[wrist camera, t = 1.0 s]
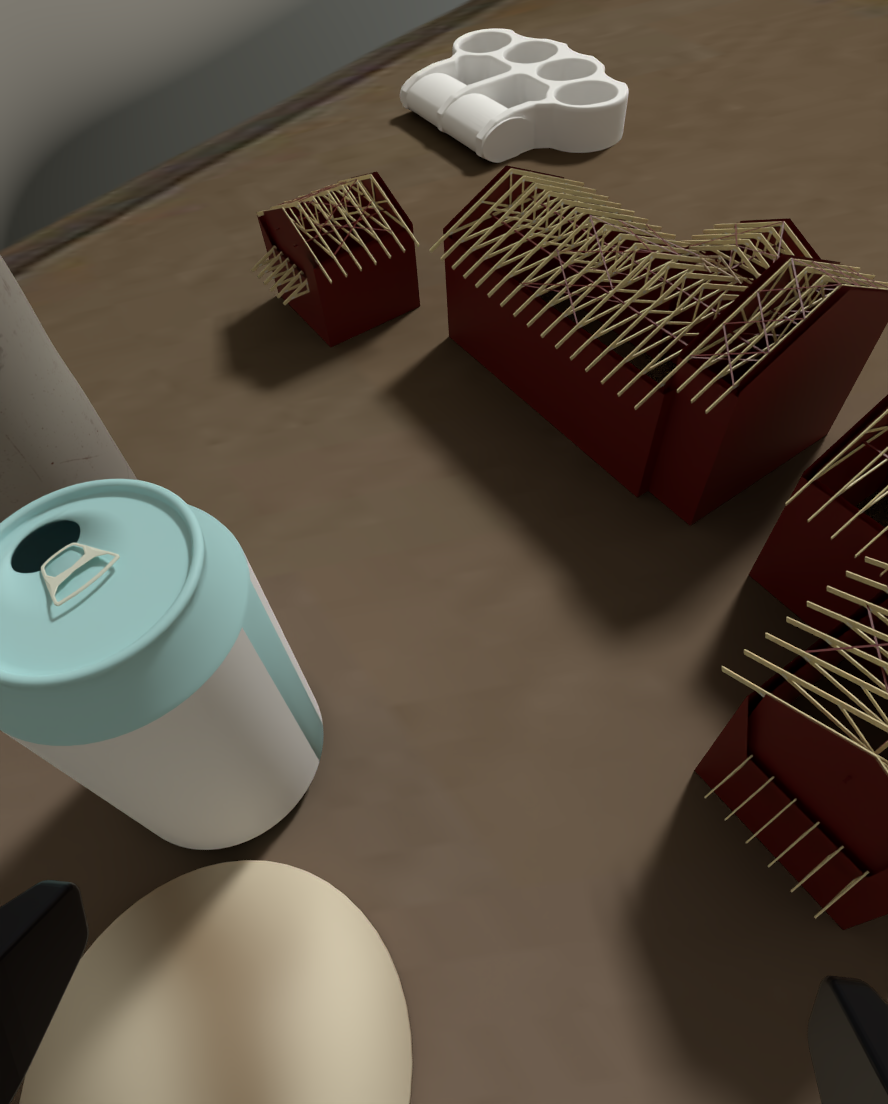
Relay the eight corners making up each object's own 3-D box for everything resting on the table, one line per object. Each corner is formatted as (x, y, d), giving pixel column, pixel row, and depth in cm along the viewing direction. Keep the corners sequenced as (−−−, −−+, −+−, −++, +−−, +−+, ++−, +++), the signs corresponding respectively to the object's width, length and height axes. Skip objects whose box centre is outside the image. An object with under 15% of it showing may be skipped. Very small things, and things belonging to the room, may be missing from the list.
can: (110, 853, 24) (-150, 714, 14) (163, 666, 28) (-11, 460, 18) (313, 855, 23) (189, 713, 14) (337, 666, 28) (254, 453, 18)
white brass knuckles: (382, 106, 58) (523, 59, 63) (509, 191, 49) (665, 130, 53) (377, 60, 56) (525, 14, 60) (510, 140, 46) (674, 80, 51)
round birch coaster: (121, 1496, 16) (109, 1510, 15) (-25, 1032, 21) (-37, 1031, 21) (492, 1106, 19) (492, 1108, 19) (288, 796, 25) (284, 790, 24)
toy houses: (1229, 667, 26) (1568, 487, 18) (880, 1054, 20) (1154, 1051, 12) (496, 196, 49) (497, 23, 41) (227, 309, 43) (166, 131, 34)
